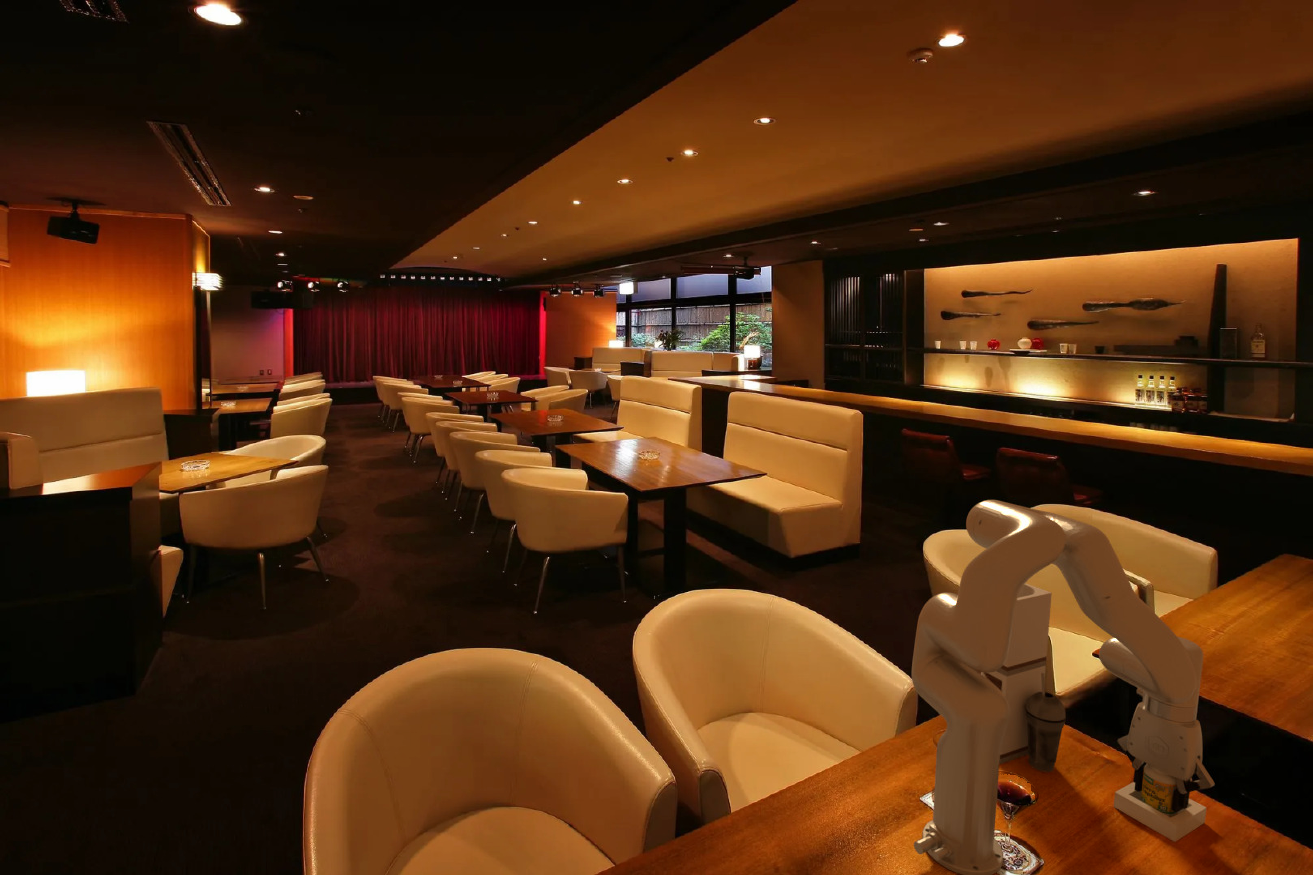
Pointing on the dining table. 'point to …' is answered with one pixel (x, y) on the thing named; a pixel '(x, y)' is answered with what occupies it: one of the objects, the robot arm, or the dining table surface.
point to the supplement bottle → (1158, 790)
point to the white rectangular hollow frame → (1159, 814)
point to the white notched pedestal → (1023, 666)
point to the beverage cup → (1044, 728)
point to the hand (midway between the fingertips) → (1159, 797)
